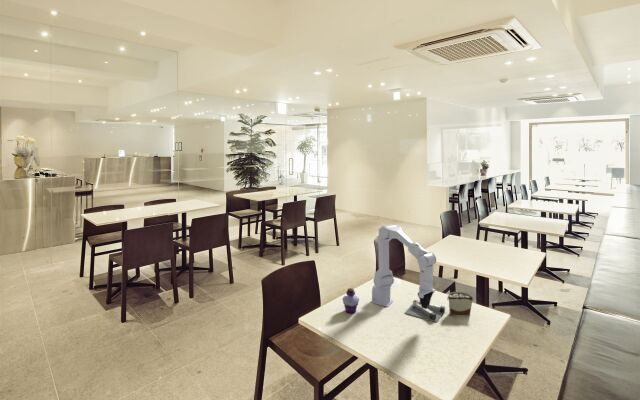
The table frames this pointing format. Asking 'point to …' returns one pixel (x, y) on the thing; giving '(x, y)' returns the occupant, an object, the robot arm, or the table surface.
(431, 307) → the tongs fixed
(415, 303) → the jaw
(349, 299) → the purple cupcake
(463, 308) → the food container
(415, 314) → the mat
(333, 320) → the table surface
